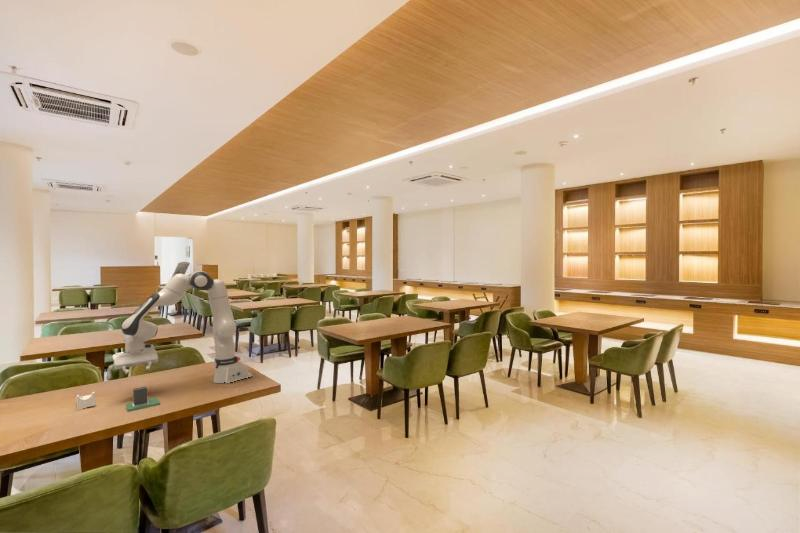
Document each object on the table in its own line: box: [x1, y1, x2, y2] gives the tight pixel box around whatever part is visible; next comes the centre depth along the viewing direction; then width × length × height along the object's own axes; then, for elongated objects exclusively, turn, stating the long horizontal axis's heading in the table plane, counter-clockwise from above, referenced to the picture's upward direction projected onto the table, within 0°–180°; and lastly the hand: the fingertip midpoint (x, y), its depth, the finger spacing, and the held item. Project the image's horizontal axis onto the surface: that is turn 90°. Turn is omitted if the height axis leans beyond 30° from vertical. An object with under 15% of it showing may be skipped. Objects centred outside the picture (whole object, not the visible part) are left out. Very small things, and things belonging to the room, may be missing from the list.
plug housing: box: [132, 385, 148, 406], centre depth 199 cm, size 6×4×8 cm, turn 130°
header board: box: [125, 396, 161, 413], centre depth 200 cm, size 14×11×4 cm
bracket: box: [76, 391, 96, 411], centre depth 201 cm, size 13×7×8 cm, turn 42°
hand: (137, 371), depth 206 cm, fingers open, 8 cm apart
